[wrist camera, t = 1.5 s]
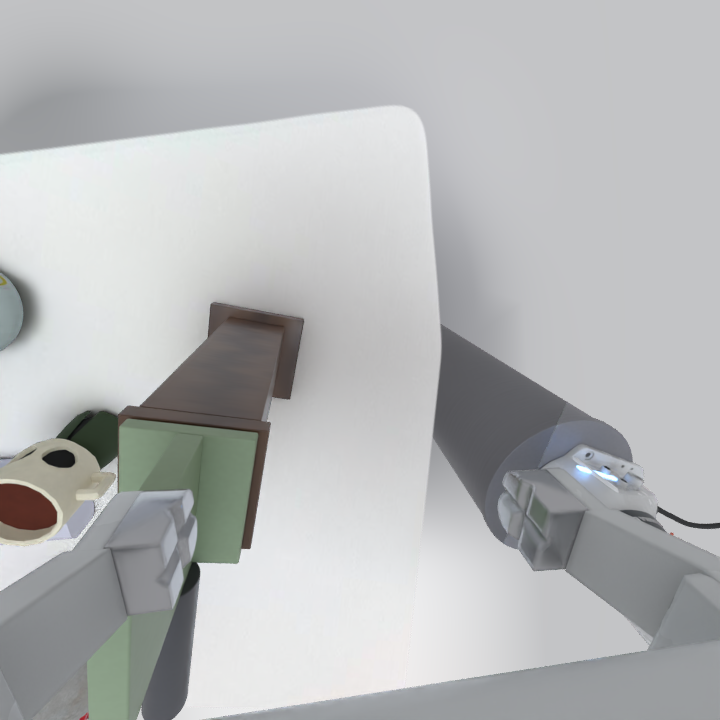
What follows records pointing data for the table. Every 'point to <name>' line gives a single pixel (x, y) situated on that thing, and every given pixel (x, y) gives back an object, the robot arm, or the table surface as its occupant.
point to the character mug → (56, 479)
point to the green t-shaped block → (213, 545)
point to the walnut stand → (230, 383)
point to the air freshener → (9, 312)
